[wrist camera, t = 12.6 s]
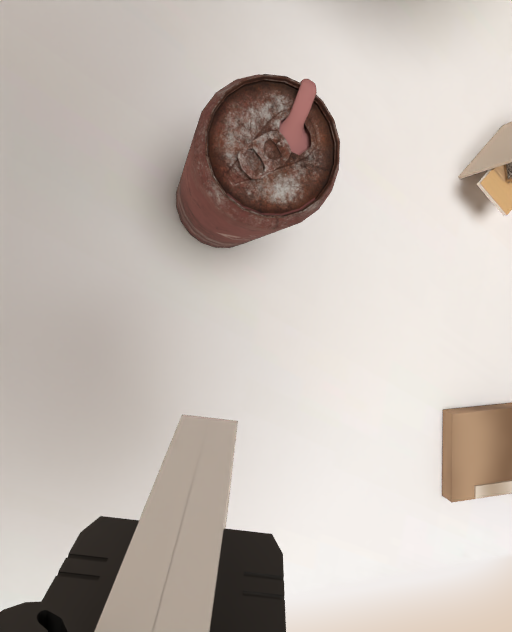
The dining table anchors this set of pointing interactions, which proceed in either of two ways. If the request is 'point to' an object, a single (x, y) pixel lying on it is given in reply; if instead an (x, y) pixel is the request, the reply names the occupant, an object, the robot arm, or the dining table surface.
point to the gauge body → (477, 452)
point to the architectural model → (495, 169)
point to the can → (257, 161)
